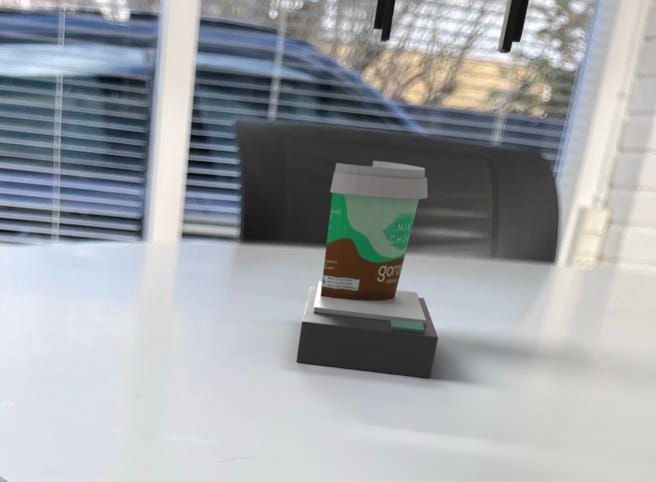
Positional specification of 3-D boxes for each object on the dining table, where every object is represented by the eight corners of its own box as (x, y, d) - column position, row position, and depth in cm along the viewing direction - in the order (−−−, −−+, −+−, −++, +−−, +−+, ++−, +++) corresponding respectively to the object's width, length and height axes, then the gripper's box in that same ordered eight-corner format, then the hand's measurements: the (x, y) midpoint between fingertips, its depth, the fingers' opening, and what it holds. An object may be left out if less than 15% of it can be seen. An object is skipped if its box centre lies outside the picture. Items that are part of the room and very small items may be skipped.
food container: (389, 310, 83) (413, 172, 79) (314, 298, 85) (334, 163, 81) (423, 291, 93) (446, 168, 89) (355, 281, 95) (375, 160, 91)
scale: (417, 332, 94) (424, 293, 93) (430, 378, 79) (439, 331, 77) (306, 319, 95) (311, 280, 94) (296, 362, 80) (302, 315, 78)
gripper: (600, -197, 80) (544, 58, 88) (372, -213, 82) (337, 39, 90) (622, -225, 74) (560, 54, 82) (374, -241, 75) (336, 34, 83)
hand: (443, 46), depth 86 cm, fingers open, 9 cm apart
